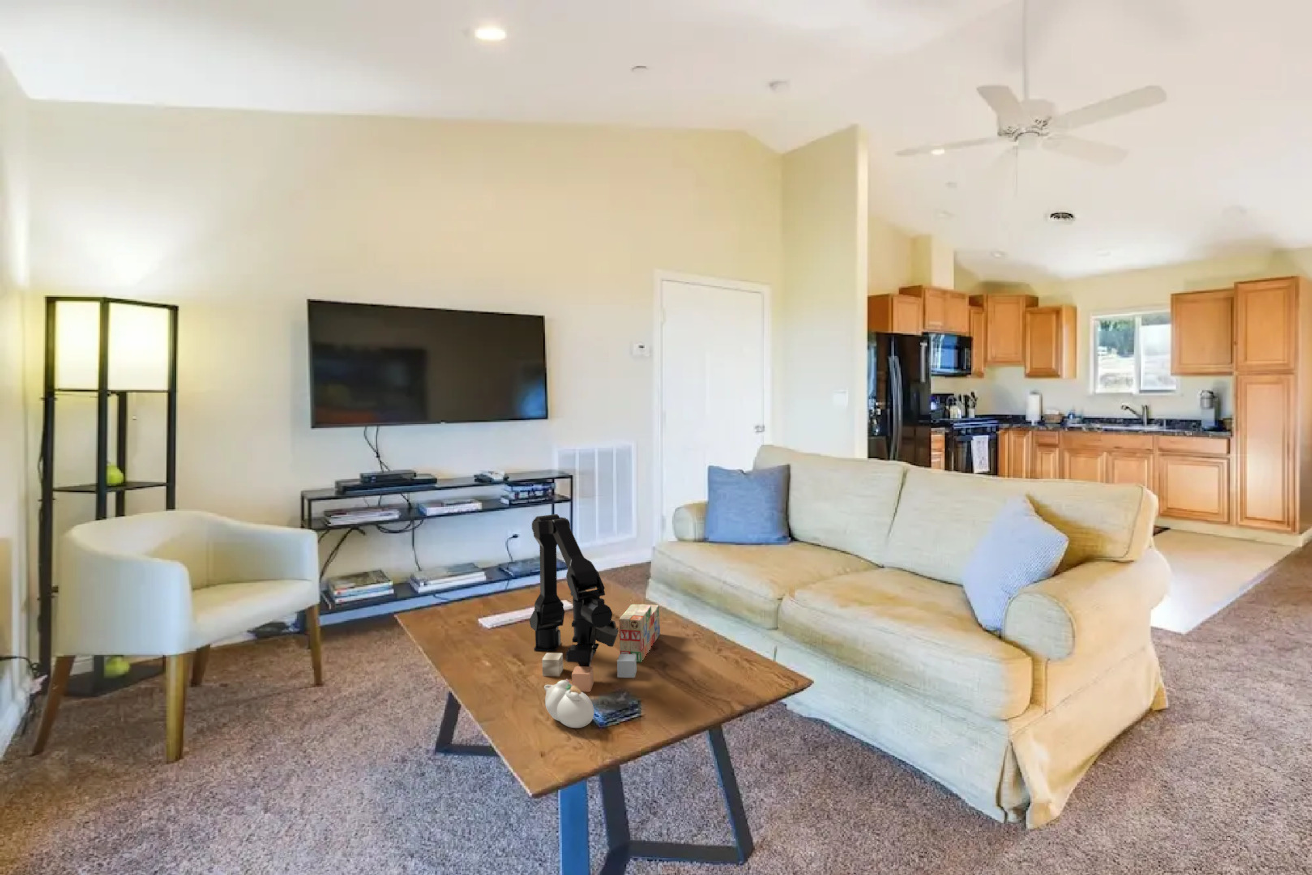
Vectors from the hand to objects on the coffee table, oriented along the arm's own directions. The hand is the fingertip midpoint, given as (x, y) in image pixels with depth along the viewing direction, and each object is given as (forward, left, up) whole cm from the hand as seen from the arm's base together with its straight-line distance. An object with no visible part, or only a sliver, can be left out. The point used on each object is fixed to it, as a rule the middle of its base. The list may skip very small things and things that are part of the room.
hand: (586, 674), depth 172 cm
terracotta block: (0, -4, -2) cm, 4 cm away
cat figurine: (0, -21, -2) cm, 21 cm away
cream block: (-10, +4, -2) cm, 11 cm away
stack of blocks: (+12, +23, -2) cm, 26 cm away
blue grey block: (+10, +4, -2) cm, 11 cm away
